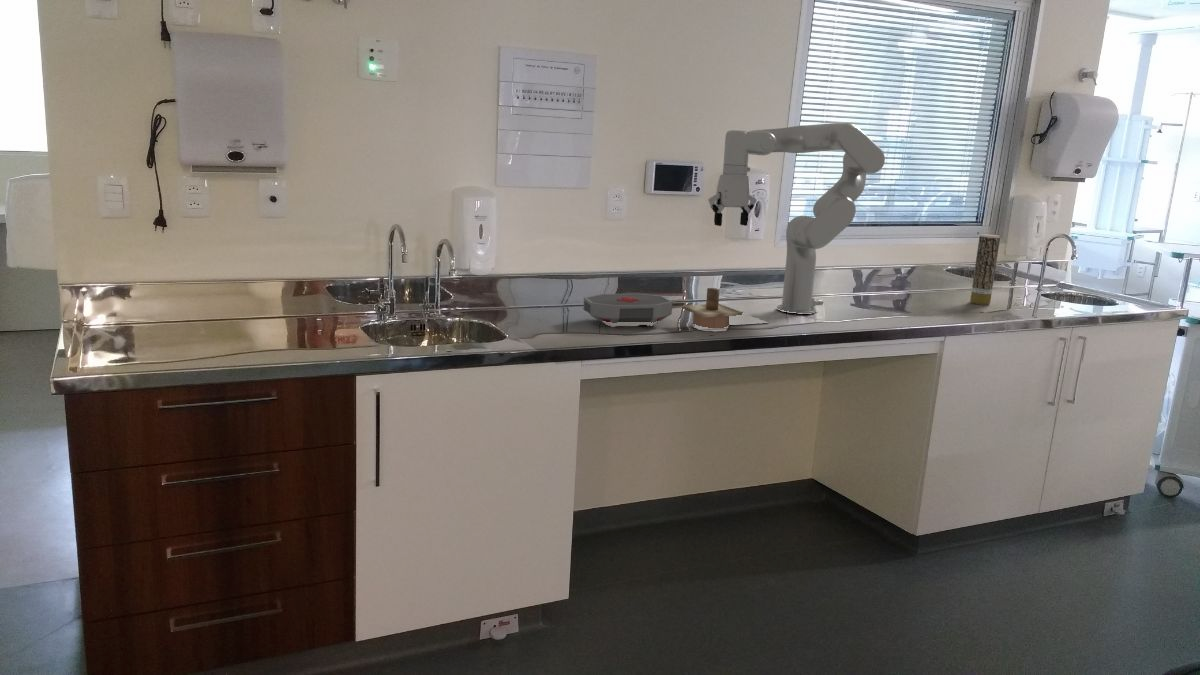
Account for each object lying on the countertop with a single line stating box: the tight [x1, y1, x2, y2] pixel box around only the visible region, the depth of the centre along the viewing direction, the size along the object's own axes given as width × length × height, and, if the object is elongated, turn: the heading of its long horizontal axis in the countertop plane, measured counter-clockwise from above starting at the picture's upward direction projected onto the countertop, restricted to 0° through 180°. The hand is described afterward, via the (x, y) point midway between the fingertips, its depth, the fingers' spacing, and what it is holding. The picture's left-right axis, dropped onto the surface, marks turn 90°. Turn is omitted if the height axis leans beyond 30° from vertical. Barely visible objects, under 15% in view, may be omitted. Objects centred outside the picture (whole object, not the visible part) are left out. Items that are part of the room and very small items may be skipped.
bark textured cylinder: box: [969, 233, 1001, 306], centre depth 311 cm, size 7×7×25 cm
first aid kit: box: [582, 293, 673, 323], centre depth 257 cm, size 18×8×25 cm
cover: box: [681, 287, 744, 317], centre depth 255 cm, size 13×13×7 cm
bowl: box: [692, 313, 729, 328], centre depth 256 cm, size 10×10×5 cm
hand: (730, 225), depth 274 cm, fingers open, 9 cm apart
